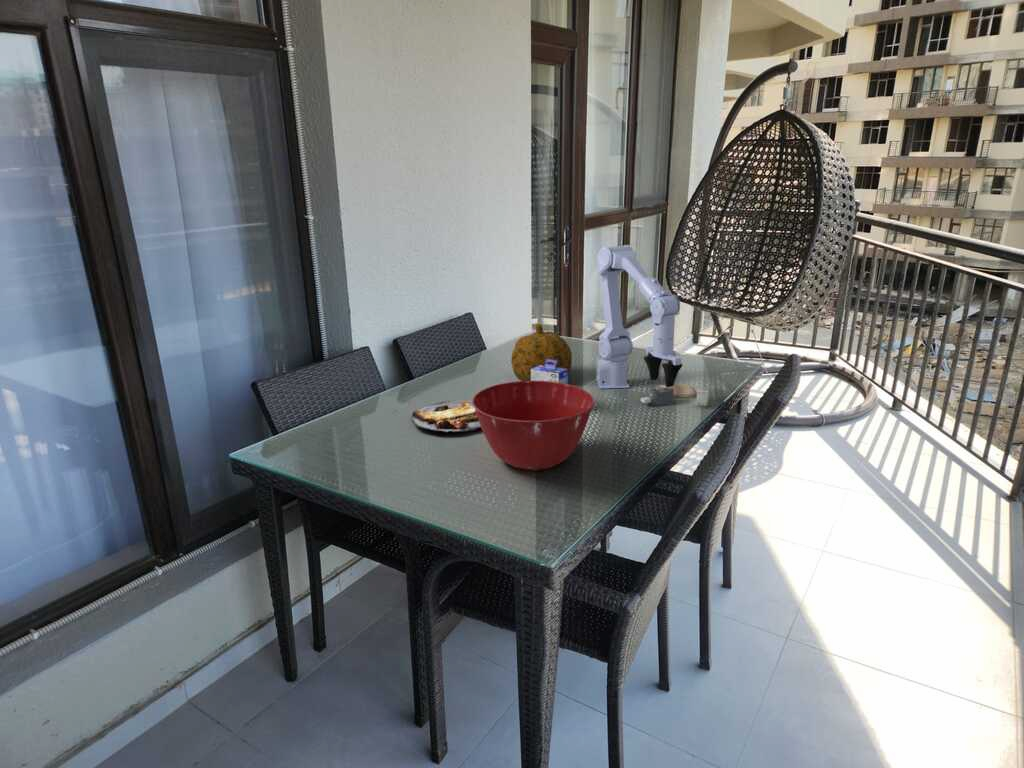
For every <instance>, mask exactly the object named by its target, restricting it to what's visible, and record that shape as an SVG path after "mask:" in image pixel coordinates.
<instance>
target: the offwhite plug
mask: <svg viewBox="0 0 1024 768" xmlns="http://www.w3.org/2000/svg"><path fill="white" fill-rule="evenodd" d="M696 394H697V397H696V400H697V401H696V400H695V401H696V405H697V406H698V407H700V406H701V408H705V407H708V406H709V405H708V404H709V391H708V388H707V387H698V388H696Z"/></svg>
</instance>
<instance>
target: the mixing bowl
mask: <svg viewBox="0 0 1024 768" xmlns="http://www.w3.org/2000/svg"><path fill="white" fill-rule="evenodd" d="M471 401H472V404H473V406H474V408H475V411H476V414H477V417H478V420H479V421H478V422H479V426H480V425H481V428H480V429H481V431H482V433H483V435H484V437H485V439H486V441H487V443H488V444H489V446H490V448H491V450H492V451H493V453H494V454H495V455H496V457H498V458H499V459H500V460H501V461H503V462H504V463H506V464H508V465H510V466H511V467H514V468H516V469H520V470H525V471H542V470H548V469H551V468H554V467H555V466H557V465H558V464H559V465H560V463H562V462H565V461H566V460H567V459H568V458H569V457H570V456H571V455H572V454H573V452H574V450H575V449H576V447H577V446H578V444H579V443H580V440H581V438H582V436H583V435H584V431H585V429H586V427H587V423H588V421H589V417H590V415H591V410H592V408H593V406H594V404H595V398H594V396H593V395H592V394H591V393H590V392H589V391H587V390H585V389H584V388H581V387H579V386H575V385H572V384H569V383H568V384H565V383H559V382H551V381H521V380H517V381H511V382H510V381H509V382H504V383H503V382H502V383H499V384H494V385H491V386H488V387H486V388H483V389H482V390H479V392H477V393H476V394H475V395H474V396H473V398H472V400H471Z"/></svg>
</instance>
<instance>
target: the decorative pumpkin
mask: <svg viewBox="0 0 1024 768" xmlns="http://www.w3.org/2000/svg"><path fill="white" fill-rule="evenodd" d="M534 328H535V332H532V333H531V334H529V335H525V336H522V337H520V338H518V339H517V341H516V342H515V344H514V348H513V350H512V354H511V360H510V361H511V366H512V371H513V373H514V375H515V376H516V378H517V379H518V381H531V369H532V368H534V367H537V366H540V365H542V366H545V363H546V360H547V359H551V360H557V364H556V368H563V369H568V373H570V371H571V368H572V364H573V362H572V359H573V355H572V350H571V348H570V346H569V345H568V343H567V342H566V341H567V340H564V338H562V337H561V336H560V335H559V334H558V333H556V332H553V331H547V332H544V330H543V325H542V324H541V323H536V324H534ZM547 364H550V365H554V363H553V362H548V363H547Z"/></svg>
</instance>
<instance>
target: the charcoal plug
mask: <svg viewBox="0 0 1024 768" xmlns="http://www.w3.org/2000/svg"><path fill="white" fill-rule="evenodd" d="M647 392H648V393H647V394H648V395H647V396H644V397H640V402H641V403H643V404H647V405H648V406H649V405H650V406H649V407H659V405H660V406H664V404H666V405H670V403H671V404H674V399H675V398H674V389H673V388H661V389H656V388H655V389H649V390H648V391H647Z"/></svg>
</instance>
